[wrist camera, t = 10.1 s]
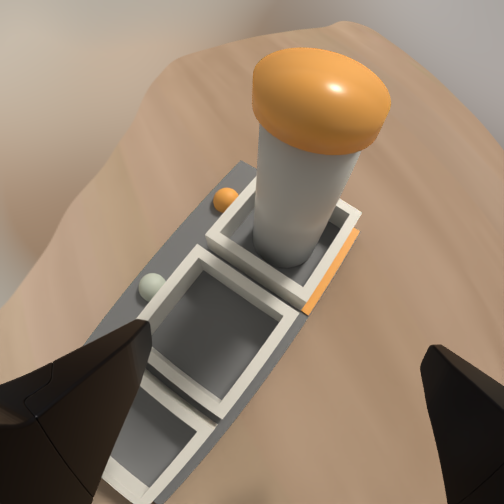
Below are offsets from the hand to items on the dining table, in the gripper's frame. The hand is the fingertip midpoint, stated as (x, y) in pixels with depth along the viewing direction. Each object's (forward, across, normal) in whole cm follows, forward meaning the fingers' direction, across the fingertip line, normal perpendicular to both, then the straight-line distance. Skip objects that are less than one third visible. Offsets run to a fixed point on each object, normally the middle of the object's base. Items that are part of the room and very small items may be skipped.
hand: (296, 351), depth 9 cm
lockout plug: (+12, 0, 0) cm, 12 cm away
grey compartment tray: (+8, +5, +5) cm, 11 cm away
